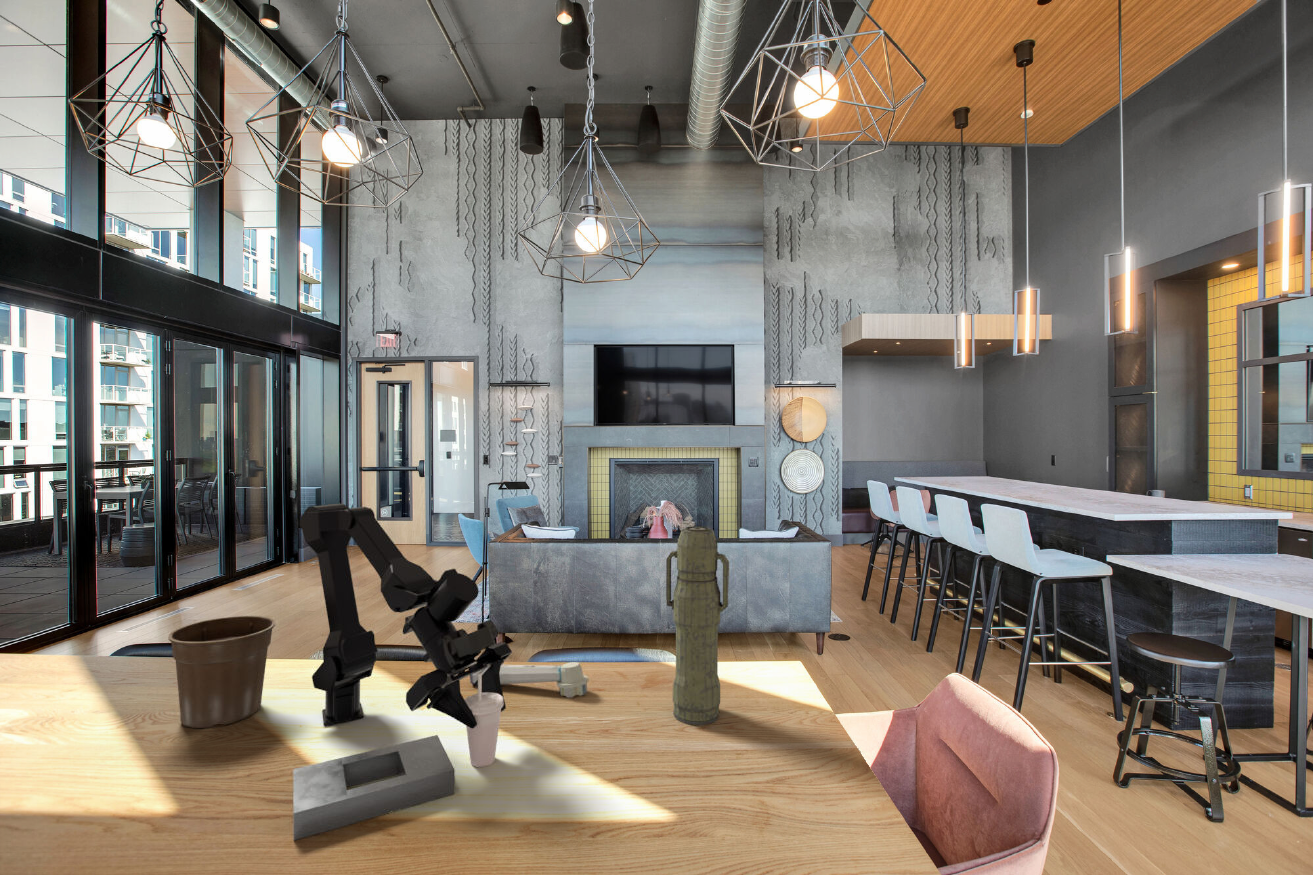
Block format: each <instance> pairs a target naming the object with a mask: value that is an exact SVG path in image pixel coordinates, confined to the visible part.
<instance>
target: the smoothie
mask: <svg viewBox="0 0 1313 875" xmlns="http://www.w3.org/2000/svg"><path fill="white" fill-rule="evenodd" d="M481 691H482V673H478V688H477V693H475V694H471V695H470V696H467V697H466V698H464V700H465V702H466V703H467V705H468V707H469V708H470V710H471V712H472V714H473V715H474V718H475V720H476V722H477V726H476V727H475V728H473V729H472V728H470V727H468V726H466V725H465V726H466V727H465V728H466V736H467V742H468V743H467V745H468V750H469V760H470V765H471V766H473V767H477V768H483V767H487V766H490V765H492V764H493V763H494V762H495V759H496V751H497V742H498V736H499V735H498V734H499V729H500V728H499V727H500V720H501V713H502V712H501V708H502V707H503V705H504V703H503V697H502V696H501V695H500V694H497V693H491V692H485V693H482V692H481Z"/></svg>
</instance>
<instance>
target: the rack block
mask: <svg viewBox="0 0 1313 875" xmlns="http://www.w3.org/2000/svg"><path fill="white" fill-rule="evenodd" d="M292 773H293V774H292V775H293V776H292V777H293V778H292V786H293V787H292V798H293V799H292V804H293V805H292V811H293V813H292V814H293V815H292V816H293V818H292V820H293V822H292V823H293V827H292V829H293V834H292V836H293V837H292V839H293V841H297V840H301V839H304V838H307V837H310V836H314V835H318V834H322V833H324V832H327V831H328V832H329V831H332V830H335V829H339V828H342V827H345V826H348V825H352V824H357V823H359V822H362V821H366V820H369V819H372V818H377V817H380V816H382V815H383V814H384V815H387V814H390V813H389V812H391V811H394V812H397V811H400V810H399V809H401V810H403V809H407V807H408V808H411V807H414V806H417V805H421V804H424V803H428V802H430V801H431V802H432V801H435V800H438V799H442V798H445V797H450V796H452V795H455V777H456V776H455V773H456V770H455V767H454V765H453V764H452V761H451V759H450V757H449V756H448V754H447V751H446V750H445V748H444V745H443V744H442V742H441V740H440V737H439V735H438V734H435V735H432V736H428V737H424V738H423V737H422V738H419V739H415V740H411V741H407V742H402V743H401V742H400V743H397V744H394V745H389V746H385V747H382V748H378V749H377V748H376V749H372V750H368V751H364V752H360V753H356V754H351V755H347V756H343V757H340V758H339V757H338V758H336V759H329V760H326V761H322V762H318V763H315V764H309V765H306V766H301V767H296V768H293V769H292ZM395 775H397V776H395ZM391 776H395V777H392V778H388V777H391ZM384 778H388V779H384ZM380 779H384V780H380ZM377 780H380V781H377ZM371 781H372V783H369V784H366V785H362V786H359V787H354V788H351V789H347V788H349V787H353V786H356V785H360V784H364V783H367V782H371ZM373 781H377V782H373ZM396 810H397V811H396ZM386 813H387V814H386ZM391 813H392V812H391ZM384 815H383V816H384Z"/></svg>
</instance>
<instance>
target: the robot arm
mask: <svg viewBox="0 0 1313 875" xmlns="http://www.w3.org/2000/svg"><path fill="white" fill-rule="evenodd" d="M299 523H300V524H299V525H300V526H299V527H301V531H302V534H303V537H304V541H305V543H306V544H307V545H308V546H309V548H311V549H312V550H313V551H314V553H315V554H316V556H317V559H318V566H319V571H320V572H319V573H320V579H321V586H322V590H323V591H322V592H323V598H324V603H325V608H326V615H327V621H328V622H327V623H328V628H329V633H328V635H327V638H326V641H325V643H324V646H323V648H322V656H323V657H322V658H323V659H322V660H323V662H322V663H321V664H320V666H318V668H317V669H316V670H315V672H314V673H313V674H312V675H311V679H312V684H313V687H314V689H317V690H321V691H324V692H325V708H324V709H322V710H321V713H322V722H323V723H322V724H323V726H329V725H333V724H339V723H342V722H343V723H344V722H347V721H353V720H356V719H357V720H358V719H362V718H364V717H365V713H364V711H363V707H362V702H361V680H364V679H366V678H369V677H371V676H372V673H373V670H374V667H375V664H376V662H377V652H378V651H379V650H378V648H377V647H376V640H375V639H376V638H375V633H374V631H373V630H369V631H367V629H365V628H364V627H363V625H361V622H360V619H359V613H358V612H359V611H358V606H357V600H356V594H355V588H354V581H353V577H352V571H351V570H352V569H351V564H350V559H349V553H348V547H349V545H350V542H351V539H352V540H353V541H354V542H355V545H357V547H358V548H359V549H360V551H361V552H362V554H363V555H364V557H365V558H366V559H367V560H368V562H369V564H370V565H371V566H372V567H373V568H374V570H375V572H376V573H377V574H378V576H379V578H380V592H381V594H382V596H383V599H384V601H385V602H386V604H387V605H388V607H389V609H390V610H391V611H393V613H405V612H407V611H411V610H415V609H416V611H415V612H414V613H413V614H412V615H407V616H406V617H404V624H403V626H402V634H403V635H407V634H410V633H412V632H413V633H414V635H415V637H416V638H417V641H419V643H420V645H421V647H422V648H423V650H424V651H425V654H424V655H423V656H422V659H423V660H424V663H429V662H430V661H431V663H432V665H433V666H434V668H435V669H434V670H432V671H431V672H428V673H426V674H423V675H421V676H420V677H419V678H418V679H417V680H416V681H415V682H414V683H413V685H411V687H409V689H408V690H407V691H406V694H405V702H406V704H407V706H408V708H409V710H410V712H414V711H415V710H418V709H420V708H422V707H424V706H425V707H426V709H427V710H430V709H433V710H436V711H438V712H441V713H443V714H444V715H447V716H449V717H450V718H452V719H454V720H456V721H458V722H460V723H462V724H463V725H464V726H468V727H470V728H472V729H473V728H475V727H476V726H477V722H476V720H475V718H474V715H473V714H472V712H471V710H470V708H469V707H468V705H467V703H466V702H465V698H464V696H463V695H462V692H461V680H463V679H465V678H467V677H470V675H472V674H474V673H475V675H476V676H477V678H478V673H482V691H481V693H485V692H491V693H497V694H500V695H501V696H502V697H503V703H504V705H503V707H502V708H501V713H502V712H504V711H505V710H506V709H507V706H506V701H505V697H504V693H503V689H502V684H501V683H500V675H499V673H500V668H501V665H504V662H505V661H506V660H507V659H508V658H509V657H510V656H511V654H513V651H512V649H511V648H510V646H509V645H508V643H507V642H503V641H500V642H498V643H497V642H495V641H496V640H495V639H497V638H498V636H499V629H498V628H497V626H496V625H495V623H494V622H493V621H492V620H491V619H489V620H486V621H483V622H481V623H478V624H477V628H476V630H475V631H472V632H470V633H468V632H467V631H466V630H465V629H463V628H461V629H457V628H456V626H455V625H454V623H453V622H455V621H457V620H459V618H460V617H461V616H462V615H463V614H464V613H465V611H466V610H467V609H468V608H469V607H470V606H471V605H472V604H473V602H474V601H475V600H476V599H477V598H478V596H479V586H478V585H477V582H476V581H475V580H473V579H471V578H470V576H468V575H466V574H463V573H459V572H458V571H457V569H456V568H451V569H447V570H445V571H444V572H443V573H442V574H441V575H440V578H439V579H438V580H436V579H434V578H433V576H431V574H429V573H428V572H427V571H426V570H425V569H424V568H423V567H422V566H421V565H419V564H416V563H414V562H413V561H409V559H407V558H406V557H405V556H404V554H403V553H402V552H401V551H400V550H399V548H398V547H397V545H396V544H395V543H394V541H393V540H392V539H391V537H390V536H389V535H388V533H387V531H385V529H384V528H383V527H382V526H381V523H379V522H378V520H377V519H376V517H375V512H374V510H373V509H372V508H370V507H366V506H359V507H348V506H347V505H346V504H344V503H342V502H341V503H334V504H333V503H332V504H331V503H330V504H324V505H314V506H313V505H312V506H311V505H310V506H308V507H307V508H306V509H305V510H304V512H303V513H302V515H301V516H300V519H299ZM484 649H485V650H484ZM482 650H484V651H483V652H482ZM476 657H477V658H476ZM474 684H475V685H474V686H475V687H476V688H477V689H478V680H477V681H476V682H475V683H474ZM429 701H430V702H429ZM428 702H429V703H428Z"/></svg>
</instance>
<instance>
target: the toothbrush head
mask: <svg viewBox="0 0 1313 875" xmlns="http://www.w3.org/2000/svg"><path fill="white" fill-rule="evenodd" d="M499 675H500V683H501V685H516V684H517V685H518V684H532V683H533V684H534V683H536V684H537V683H552V682H554V683H556V686H557V688H559V693H560V696H561V697H562V696H563V697H566V698H567V699H569V698H574V697H575V696H579V697H581V696H583V695H586V694H587V693H588V684H587V683H588V682H589V678H588V676H587V675H585V674H584V673H583V669H582V666H581V664H580V663H579V662H576V661H575V662H574V661H573V662H571V661H570V662H567V663H563V664H562V665H544V664H543V665H542V664H541V665H539V664H538V665H537V664H536V665H535V664H502V665H501V668H500V673H499ZM477 680H478V678H477V676H476V675H475V673H474V674H472V675H469V681H470V684H472V685H473V686H476V685H475V684H474V683H475V682H476V681H477Z"/></svg>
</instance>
